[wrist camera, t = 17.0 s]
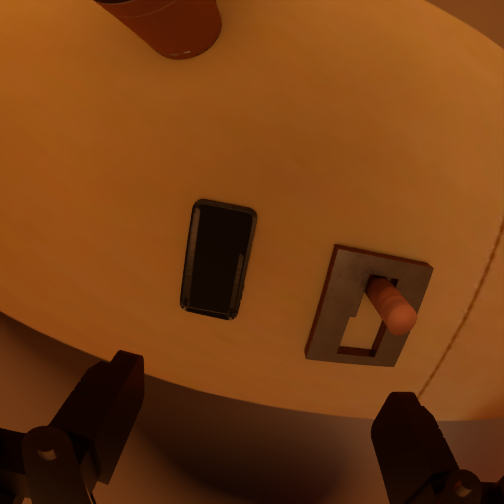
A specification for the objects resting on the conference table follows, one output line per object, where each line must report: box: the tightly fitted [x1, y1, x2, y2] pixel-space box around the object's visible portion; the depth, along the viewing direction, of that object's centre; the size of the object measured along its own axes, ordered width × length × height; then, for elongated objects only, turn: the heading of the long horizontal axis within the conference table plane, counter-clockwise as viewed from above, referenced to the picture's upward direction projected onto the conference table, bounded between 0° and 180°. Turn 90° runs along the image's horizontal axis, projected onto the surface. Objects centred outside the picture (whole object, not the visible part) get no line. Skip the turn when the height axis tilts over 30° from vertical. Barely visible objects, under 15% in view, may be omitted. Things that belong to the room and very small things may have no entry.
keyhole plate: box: [305, 244, 434, 367], centre depth 40 cm, size 16×14×2 cm
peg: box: [364, 274, 417, 335], centre depth 35 cm, size 4×4×10 cm
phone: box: [180, 199, 257, 320], centre depth 40 cm, size 8×1×15 cm
